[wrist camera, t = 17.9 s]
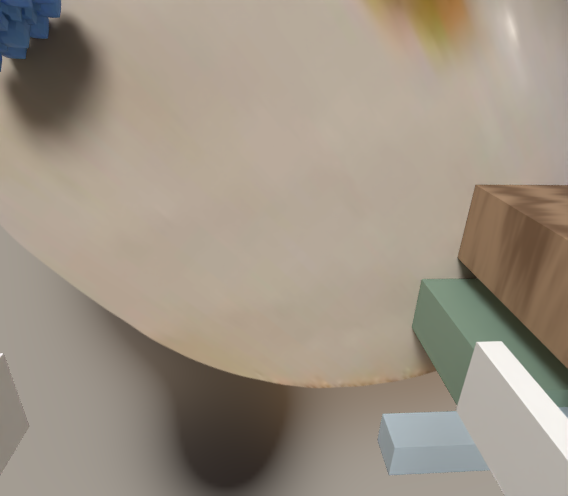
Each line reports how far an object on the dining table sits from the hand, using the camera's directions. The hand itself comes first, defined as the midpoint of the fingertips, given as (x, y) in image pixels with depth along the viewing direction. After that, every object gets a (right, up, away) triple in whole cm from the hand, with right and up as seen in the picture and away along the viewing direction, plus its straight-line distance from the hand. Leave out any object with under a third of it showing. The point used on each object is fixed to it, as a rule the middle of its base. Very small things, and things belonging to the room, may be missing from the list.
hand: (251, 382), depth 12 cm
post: (+23, -4, +45) cm, 51 cm away
